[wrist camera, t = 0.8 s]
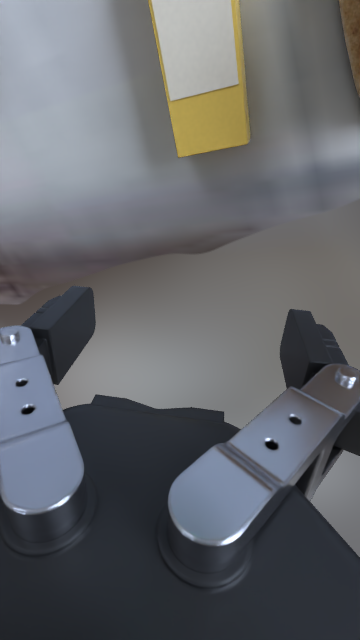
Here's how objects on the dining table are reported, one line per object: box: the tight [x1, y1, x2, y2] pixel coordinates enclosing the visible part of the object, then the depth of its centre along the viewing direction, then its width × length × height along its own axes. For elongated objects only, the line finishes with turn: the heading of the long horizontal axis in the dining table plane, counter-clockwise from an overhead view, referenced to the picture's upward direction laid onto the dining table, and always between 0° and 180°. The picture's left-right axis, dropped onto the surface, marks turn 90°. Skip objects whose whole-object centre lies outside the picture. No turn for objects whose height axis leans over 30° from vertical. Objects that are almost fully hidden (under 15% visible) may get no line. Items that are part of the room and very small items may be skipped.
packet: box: [148, 0, 251, 158], centre depth 27 cm, size 15×6×4 cm, turn 12°
